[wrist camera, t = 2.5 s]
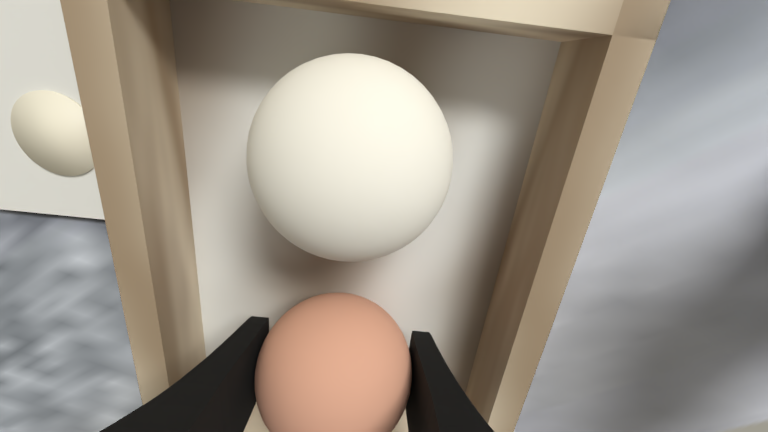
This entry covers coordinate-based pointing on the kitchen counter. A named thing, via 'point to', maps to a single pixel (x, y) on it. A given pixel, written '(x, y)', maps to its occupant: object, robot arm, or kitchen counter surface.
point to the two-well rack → (405, 266)
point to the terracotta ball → (333, 368)
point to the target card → (42, 116)
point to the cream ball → (349, 157)
